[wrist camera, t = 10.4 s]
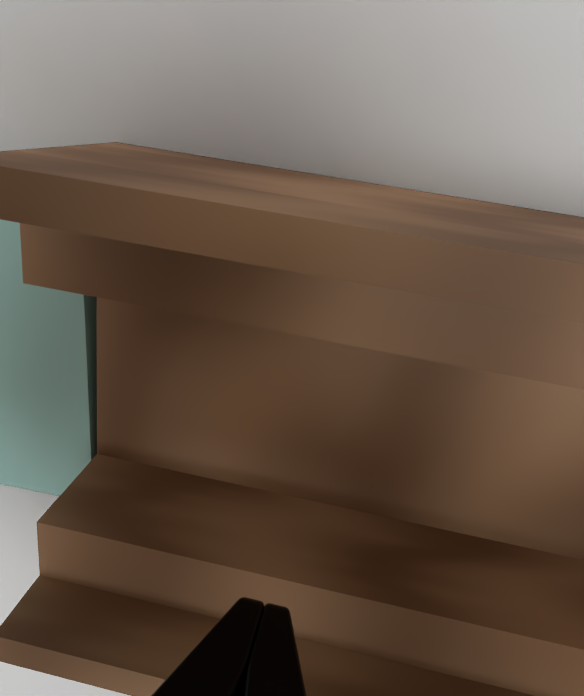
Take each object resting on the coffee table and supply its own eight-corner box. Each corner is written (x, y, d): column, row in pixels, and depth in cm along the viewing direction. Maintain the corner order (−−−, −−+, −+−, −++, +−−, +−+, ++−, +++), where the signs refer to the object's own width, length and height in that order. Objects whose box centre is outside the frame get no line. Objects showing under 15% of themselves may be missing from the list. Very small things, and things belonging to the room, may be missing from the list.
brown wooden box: (912, 270, 12) (1331, 390, 7) (695, 633, 16) (843, 881, 11) (115, 142, 14) (-59, 155, 8) (112, 501, 18) (-5, 659, 13)
